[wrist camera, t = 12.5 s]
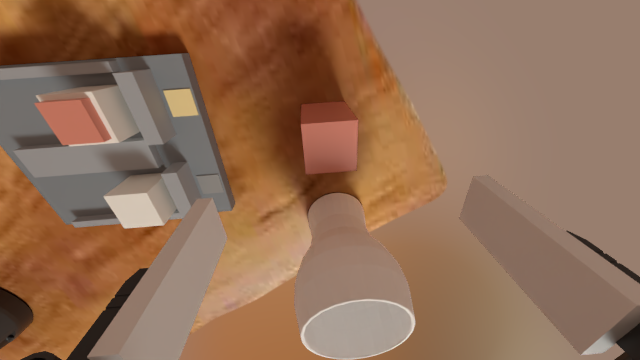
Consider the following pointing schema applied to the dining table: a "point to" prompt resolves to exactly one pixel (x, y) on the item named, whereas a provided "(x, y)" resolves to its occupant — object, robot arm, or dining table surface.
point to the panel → (115, 158)
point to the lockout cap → (329, 137)
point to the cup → (349, 286)
